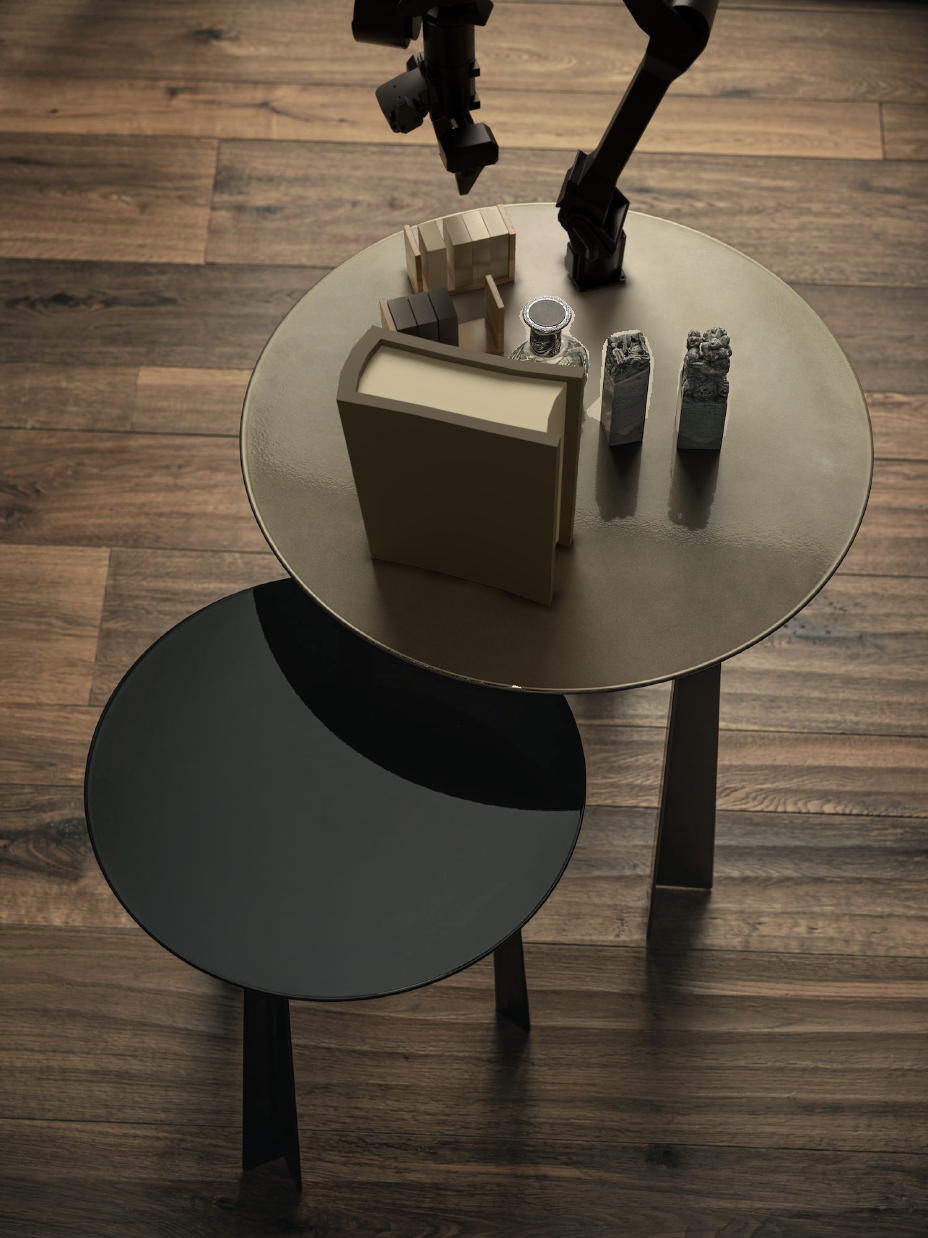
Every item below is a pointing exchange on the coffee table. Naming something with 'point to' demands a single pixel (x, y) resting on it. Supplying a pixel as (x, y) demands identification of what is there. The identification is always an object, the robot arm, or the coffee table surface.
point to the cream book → (433, 255)
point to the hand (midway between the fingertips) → (453, 169)
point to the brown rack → (469, 251)
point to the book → (463, 458)
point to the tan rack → (447, 319)
